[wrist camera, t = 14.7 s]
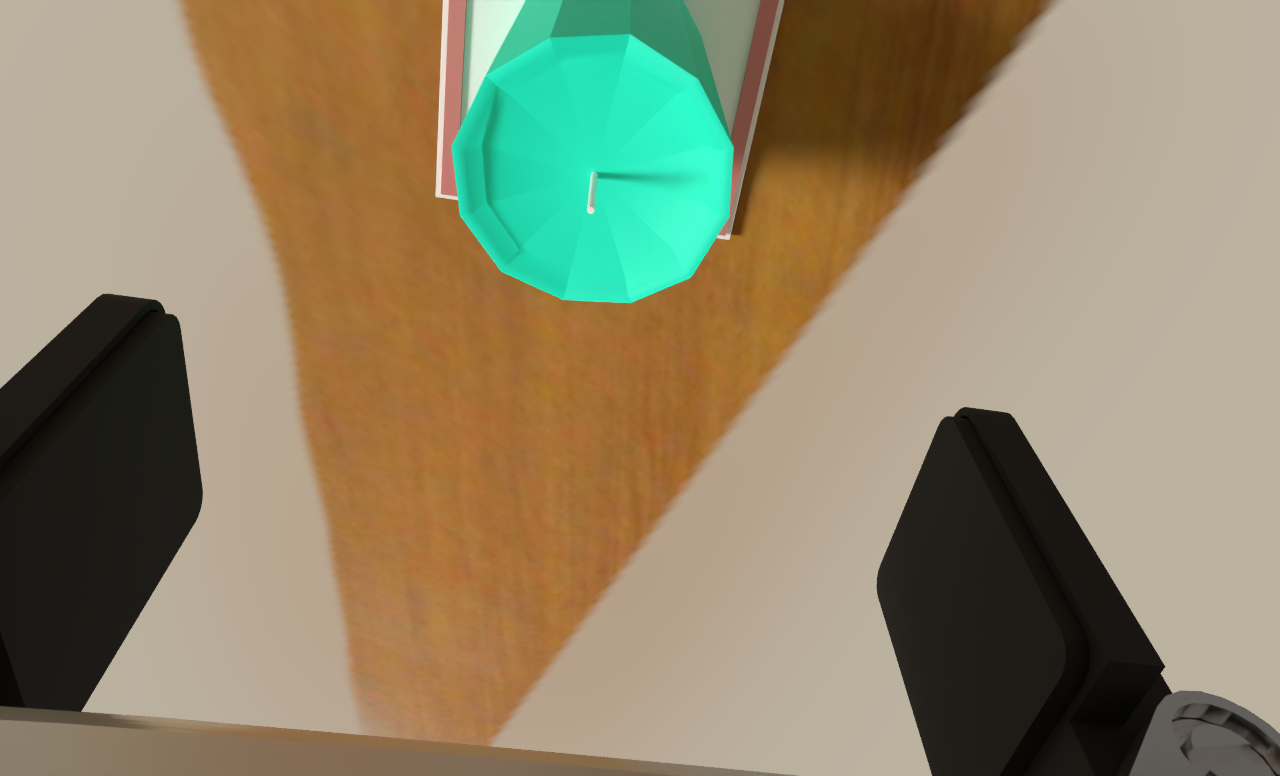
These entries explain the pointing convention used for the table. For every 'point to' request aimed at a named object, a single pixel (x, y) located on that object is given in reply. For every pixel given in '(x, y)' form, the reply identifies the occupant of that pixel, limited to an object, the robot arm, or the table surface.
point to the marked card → (732, 35)
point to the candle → (597, 150)
